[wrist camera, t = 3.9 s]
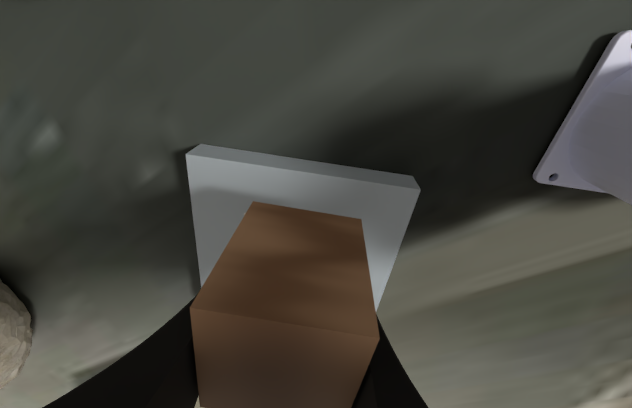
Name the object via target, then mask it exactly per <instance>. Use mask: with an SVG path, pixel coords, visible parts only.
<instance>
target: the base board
mask: <svg viewBox="0 0 632 408" xmlns="http://www.w3.org/2000/svg"><path fill="white" fill-rule="evenodd" d="M186 162H187V171H188V179H189V188H190V196H191V205H192V213H193V222H194V230H195V239H196V247H197V256H198V264H199V272H200V281H201V288H202V286H203V284H204V283H205V281H206V279H207V278H208V276H209V274H210V273H211V271H212V269H213V268H214V266H215V264H216V263H217V261H218V259H219V258H220V256H221V254H222V252H223V251H224V249H225V247H226V246H227V244H228V242H229V241H230V239H231V237H232V236H233V234H234V232H235V231H236V229H237V227H238V226H239V224H240V222H241V221H242V219H243V217H244V215H245V214H246V212H247V210H248V209H249V207H250V205H251V204H252V202H253V201H255V202H261V203H267V204H273V205H279V206H285V207H291V208H297V209H303V210H309V211H316V212H322V213H328V214H334V215H340V216H346V217H352V218H358V219H361V220H362V227H363V233H364V240H365V246H366V253H367V259H368V265H369V272H370V278H371V285H372V291H373V298H374V304H375V311H377V308H378V305H379V303H380V300H381V297H382V294H383V292H384V289H385V286H386V283H387V281H388V278H389V275H390V273H391V270H392V267H393V264H394V262H395V259H396V256H397V253H398V251H399V248H400V245H401V243H402V240H403V237H404V234H405V232H406V229H407V226H408V223H409V221H410V218H411V215H412V213H413V210H414V207H415V204H416V202H417V199H418V196H419V193H420V191H421V189H420V187H419V186H418V184H417V182H416V181H415V179H414V177H413V176H409V175H403V174H396V173H390V172H383V171H376V170H370V169H363V168H357V167H350V166H343V165H337V164H330V163H324V162H317V161H310V160H304V159H297V158H291V157H284V156H277V155H271V154H264V153H258V152H251V151H244V150H238V149H231V148H225V147H218V146H211V145H205V144H200V145H198V146H197V147H195V148H194V149H192V150H191V151H189V152H188V153H186Z"/></svg>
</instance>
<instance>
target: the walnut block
mask: <svg viewBox="0 0 632 408" xmlns="http://www.w3.org/2000/svg"><path fill="white" fill-rule="evenodd" d="M190 315H191V325H192V335H193V344H194V354H195V363H196V373H197V382H198V392H199V401H200V407H205V408H351V407H352V404H353V402H354V399H355V397H356V395H357V392H358V390H359V387H360V385H361V382H362V380H363V378H364V375H365V373H366V370H367V368H368V366H369V363H370V361H371V358H372V356H373V353H374V351H375V349H376V346H377V344H378V341H379V339H380V336H379V330H378V324H377V317H376V311H375V304H374V298H373V291H372V285H371V278H370V272H369V265H368V259H367V253H366V246H365V240H364V233H363V227H362V220H361V219H358V218H352V217H346V216H340V215H334V214H328V213H322V212H316V211H309V210H303V209H297V208H291V207H285V206H279V205H273V204H267V203H261V202H255V201H253V202H252V204H251V205H250V207H249V209H248V210H247V212H246V214H245V215H244V217H243V219H242V221H241V222H240V224H239V226H238V227H237V229H236V231H235V232H234V234H233V236H232V237H231V239H230V241H229V242H228V244H227V246H226V247H225V249H224V251H223V252H222V254H221V256H220V258H219V259H218V261H217V263H216V264H215V266H214V268H213V269H212V271H211V273H210V274H209V276H208V278H207V279H206V281H205V283H204V284H203V286H202V288H201V290H200V291H199V293H198V295H197V296H196V298H195V300H194V301H193V303H192V305H191V306H190Z"/></svg>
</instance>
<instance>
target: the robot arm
mask: <svg viewBox="0 0 632 408" xmlns="http://www.w3.org/2000/svg"><path fill="white" fill-rule="evenodd" d="M631 44H632V30H627V31H622V32H619V33H618V34H616V35H615V36H614V37H613V38H612V39H611V41H610V42H609V44H608V46H607V48H606V49H605V51H604V53H603V54H602V56H601V58H600V60H599V61H598V63H597V65H596V66H595V68H594V70H593V72H592V73H591V75H590V77H589V78H588V80H587V82H586V84H585V85H584V87H583V89H582V90H581V92H580V94H579V96H578V97H577V99H576V101H575V103H574V104H573V106H572V108H571V109H570V111H569V113H568V115H567V116H566V118H565V120H564V121H563V123H562V125H561V127H560V128H559V130H558V132H557V133H556V135H555V137H554V139H553V140H552V142H551V144H550V145H549V147H548V149H547V151H546V152H545V154H544V156H543V157H542V159H541V161H540V163H539V164H538V166H537V168H536V169H535V171H534V173H533V179H534V180H535V181H537V182H539V183H543V184H549V185H556V186H563V187H569V188H576V189H582V190H589V191H596V192H602V193H609V194H611V195H613V196H615V197H617V198H619V199H621V200H623V201H625V202H626V203H628V204H630V205H632V49H631ZM552 174H554V175H553V176H552V177H551V178H549V176H550V175H552ZM197 295H198V294H197ZM197 295H196V296H197ZM196 296H195V297H194V298H193V299H192V300H191V301H190V302H189V303H188V304H187V305H186V306H185V307H184V308H183V309H182V310H181V311H180V312H178V313H177V314H176V315H175V316H174V317H173V318H172V319H170V320H169V321H168V322H167V323H166V324H165V325H163V326H162V327H161V328H160V329H159V330H157V331H156V332H155V333H154V334H153V335H151V336H150V337H149V338H148V339H146V340H145V341H144V342H142V343H141V344H140V345H138V346H137V347H136V348H134V349H133V350H132V351H130V352H129V353H127V354H126V355H125V356H123V357H122V358H120V359H119V360H118V361H116V362H115V363H113V364H112V365H110V366H109V367H108V368H106V369H105V370H103V371H102V372H100V373H99V374H97V375H95V376H94V377H92V378H91V379H89V380H87V381H86V382H84V383H83V384H81V385H79V386H78V387H76V388H75V389H73V390H72V391H70V392H68V393H67V394H65V395H63V396H62V397H60V398H58V399H57V400H55V401H53V402H51V403H50V404H48V405H46V406H44V407H43V408H194V407H195V404H196V401H197V398H198V395H199V392H198V382H197V373H196V363H195V354H194V344H193V335H192V325H191V315H190V306H191V305H192V303H193V301H194V300H195V298H196ZM376 317H377V315H376ZM377 324H378V330H379V336H380V339H379V341H378V344H377V346H376V349H375V351H374V353H373V356H372V358H371V361H370V363H369V366H368V368H367V370H366V373H365V375H364V378H363V380H362V382H361V385H360V387H359V390H358V392H357V395H356V397H355V399H354V402H353V404H352V407H351V408H428V406H427V405H426V403H425V402H424V400H423V399H422V397H421V396H420V394H419V393H418V391H417V390H416V388H415V387H414V385H413V383H412V382H411V380H410V379H409V377H408V375H407V374H406V372H405V370H404V368H403V367H402V365H401V363H400V361H399V359H398V358H397V356H396V354H395V352H394V350H393V348H392V346H391V344H390V342H389V340H388V338H387V336H386V334H385V332H384V330H383V328H382V326H381V324H380V322H379V319H378V317H377Z"/></svg>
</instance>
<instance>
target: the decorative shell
mask: <svg viewBox="0 0 632 408" xmlns="http://www.w3.org/2000/svg"><path fill="white" fill-rule="evenodd" d="M30 322H31V316H30V314H29V312H28V311H27V309H26V307H25V305H24V304H23V302H21V301H20V300H19V299H18V298H17V296H16V295H15V294H14V293H13V292H12V290H11V289H10V288H9V287H8V286H7V285H5V284H3V283H2V281H1V279H0V389H1V388H3V387H4V386H5V385H6V384H8V383H9V382H10V381H11V380H12V379H14V378H15V377H16V376H18V375H19V373H20V372H21V370H22V368H23V366H24V363H25V361H26V359H27V357H28V356H29V353H30V348H31V346H32V333H33V330H32V329H31V328H30Z"/></svg>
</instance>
